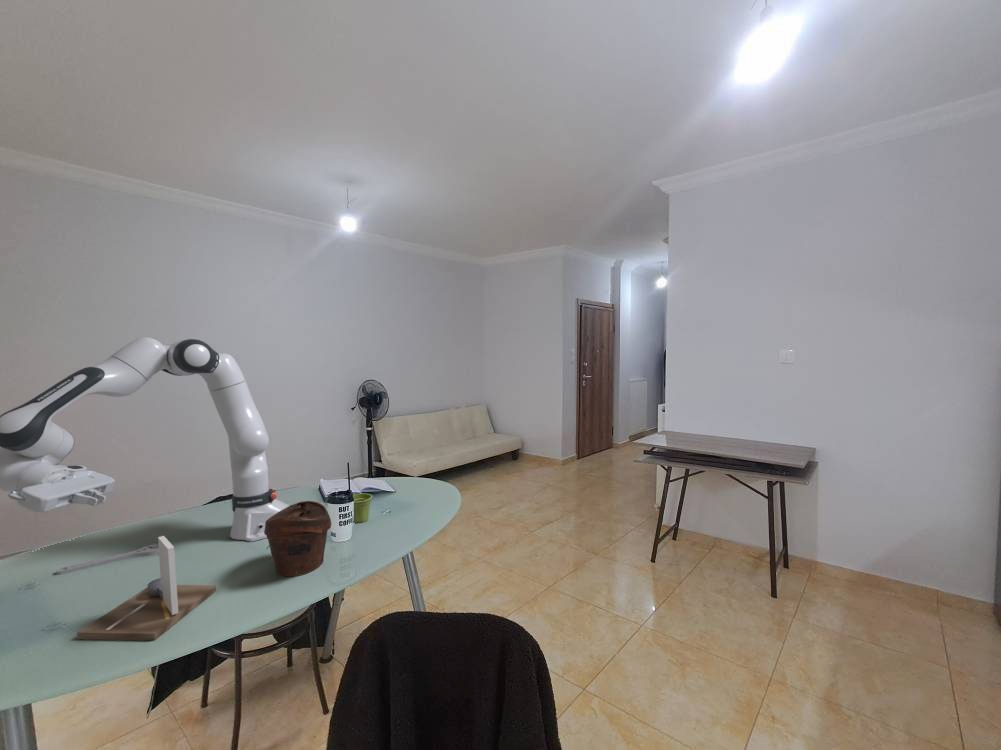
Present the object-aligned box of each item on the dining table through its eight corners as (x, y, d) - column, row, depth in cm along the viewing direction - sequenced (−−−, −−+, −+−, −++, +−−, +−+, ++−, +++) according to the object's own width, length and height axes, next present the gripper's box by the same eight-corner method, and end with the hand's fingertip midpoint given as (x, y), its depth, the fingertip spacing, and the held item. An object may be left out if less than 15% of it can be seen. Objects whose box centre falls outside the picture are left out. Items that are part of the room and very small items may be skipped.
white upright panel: (146, 592, 115) (142, 531, 114) (169, 584, 119) (165, 525, 118) (162, 618, 104) (157, 551, 103) (187, 609, 107) (183, 544, 106)
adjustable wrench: (55, 577, 129) (54, 571, 128) (61, 568, 134) (60, 563, 134) (163, 553, 142) (163, 548, 142) (165, 546, 148) (164, 541, 148)
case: (316, 544, 146) (313, 491, 145) (344, 565, 132) (341, 506, 130) (257, 564, 134) (253, 506, 132) (280, 590, 119) (276, 525, 118)
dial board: (151, 590, 120) (151, 584, 120) (216, 590, 119) (216, 585, 119) (77, 638, 100) (77, 632, 100) (155, 640, 99) (154, 633, 99)
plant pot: (358, 527, 160) (357, 503, 160) (341, 522, 165) (340, 499, 165) (378, 518, 168) (377, 495, 167) (361, 513, 173) (360, 491, 172)
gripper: (7, 481, 102) (65, 500, 102) (87, 464, 122) (136, 480, 123) (-3, 507, 102) (56, 527, 102) (79, 486, 122) (128, 502, 123)
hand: (100, 501), depth 113 cm, fingers closed
